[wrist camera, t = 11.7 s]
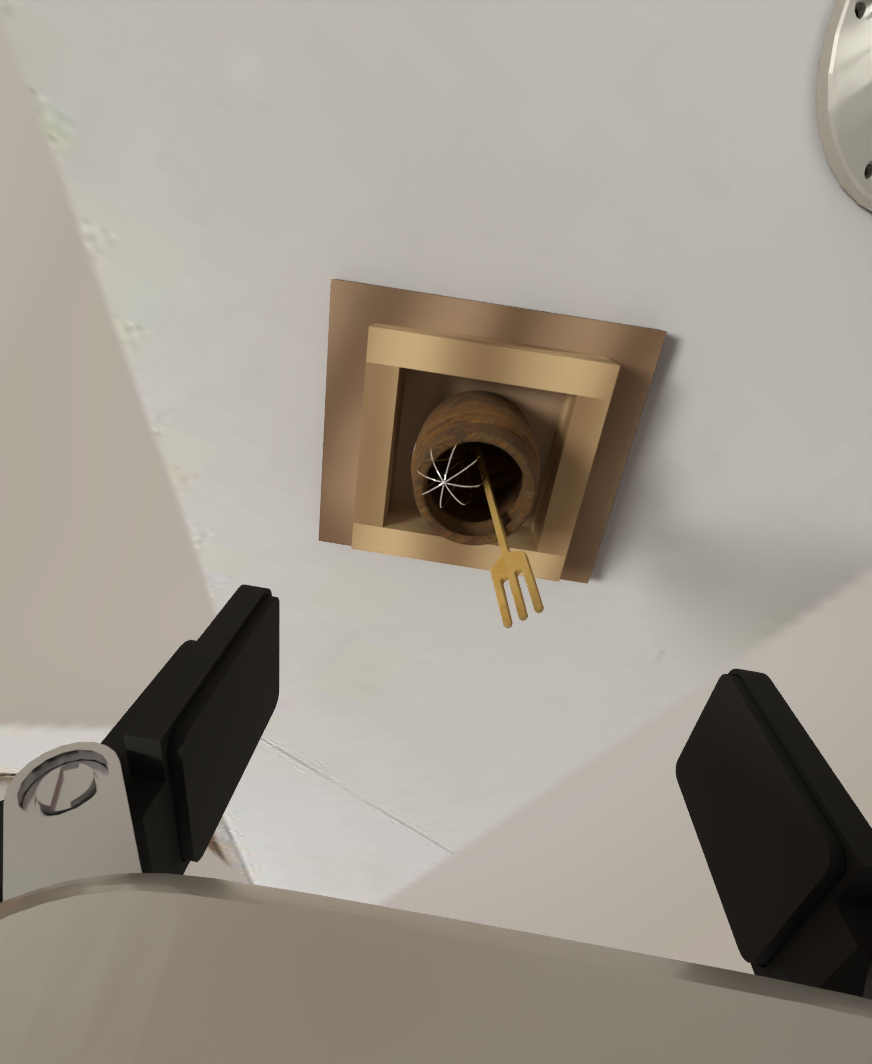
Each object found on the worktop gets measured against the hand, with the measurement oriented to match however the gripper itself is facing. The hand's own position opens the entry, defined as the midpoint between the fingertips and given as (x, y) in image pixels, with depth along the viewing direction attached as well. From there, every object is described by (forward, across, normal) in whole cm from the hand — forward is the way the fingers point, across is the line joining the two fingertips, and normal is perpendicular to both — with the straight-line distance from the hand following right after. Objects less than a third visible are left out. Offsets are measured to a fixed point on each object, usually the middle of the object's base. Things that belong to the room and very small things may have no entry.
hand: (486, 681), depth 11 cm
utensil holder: (+18, 0, +1) cm, 19 cm away
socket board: (+20, +1, +1) cm, 20 cm away
